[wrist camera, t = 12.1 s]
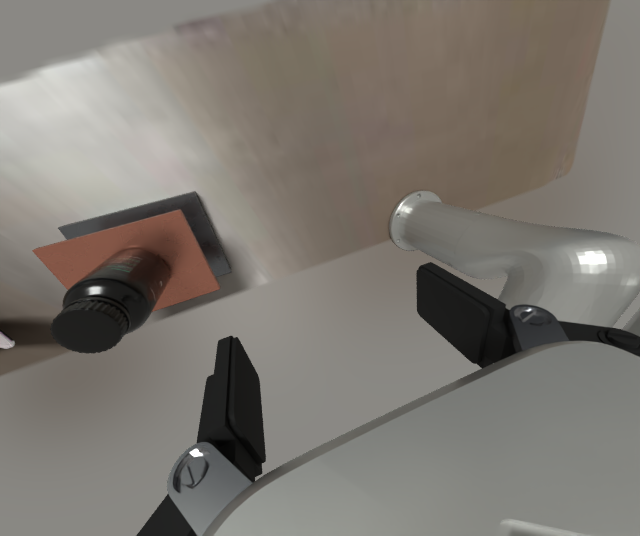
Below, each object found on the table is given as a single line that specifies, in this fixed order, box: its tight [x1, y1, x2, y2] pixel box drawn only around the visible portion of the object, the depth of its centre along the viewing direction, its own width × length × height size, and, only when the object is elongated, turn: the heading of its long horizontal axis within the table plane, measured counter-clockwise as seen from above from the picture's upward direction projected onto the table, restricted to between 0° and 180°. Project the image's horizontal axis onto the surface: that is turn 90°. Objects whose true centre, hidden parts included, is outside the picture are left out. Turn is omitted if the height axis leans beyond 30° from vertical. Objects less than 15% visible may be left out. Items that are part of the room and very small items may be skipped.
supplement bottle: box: [50, 249, 169, 353], centre depth 25 cm, size 7×7×12 cm
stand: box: [32, 191, 231, 312], centre depth 34 cm, size 18×14×8 cm
